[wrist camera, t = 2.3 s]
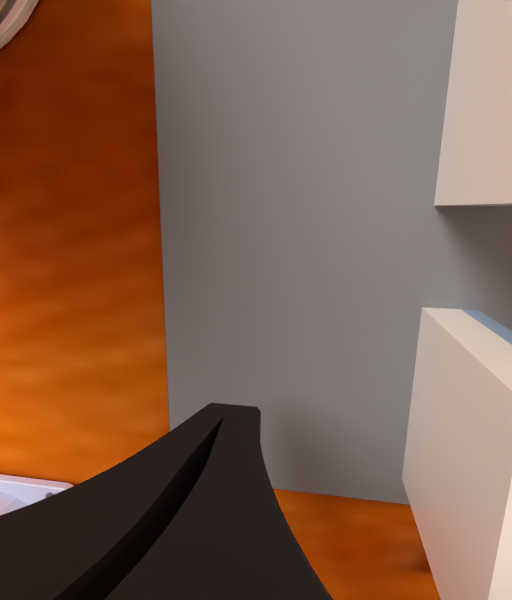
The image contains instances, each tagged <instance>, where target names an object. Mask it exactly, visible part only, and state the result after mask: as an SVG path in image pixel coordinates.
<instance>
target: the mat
mask: <svg viewBox="0 0 512 600" xmlns="http://www.w3.org/2000/svg"><path fill="white" fill-rule="evenodd" d="M457 7H458V0H151V11H152V34H153V57H154V80H155V103H156V126H157V149H158V172H159V195H160V218H161V241H162V264H163V287H164V311H165V334H166V357H167V380H168V403H169V426H170V431H172V430H173V429H174V428H176V427H177V426H179V425H180V424H181V423H183V422H184V421H186V420H187V419H188V418H190V417H191V416H193V415H194V414H195V413H197V412H198V411H199V410H201V409H202V408H204V407H205V406H207V405H208V404H210V403H221V404H232V405H243V406H255V407H258V409H259V410H260V411H261V434H260V445H261V450H262V455H263V459H264V463H265V466H266V470H267V473H268V476H269V479H270V482H271V485H272V488H273V489H281V490H289V491H298V492H306V493H315V494H323V495H332V496H340V497H348V498H357V499H365V500H374V501H382V502H391V503H399V504H407V505H410V503H409V500H408V496H407V493H406V490H405V487H404V484H403V481H402V473H403V464H404V456H405V447H406V439H407V430H408V422H409V413H410V405H411V396H412V388H413V379H414V371H415V362H416V354H417V345H418V337H419V329H420V320H421V312H422V307H423V308H444V309H465V310H479V311H481V312H482V313H484V314H485V315H487V316H489V317H490V318H492V319H494V320H495V321H497V322H498V323H500V324H502V325H503V326H505V327H506V328H508V329H510V330H511V331H512V206H434V201H435V193H436V185H437V176H438V168H439V159H440V151H441V142H442V134H443V125H444V117H445V108H446V100H447V91H448V83H449V74H450V66H451V57H452V49H453V41H454V32H455V24H456V15H457Z"/></svg>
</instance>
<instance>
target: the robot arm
mask: <svg viewBox="0 0 512 600" xmlns="http://www.w3.org/2000/svg"><path fill="white" fill-rule="evenodd" d="M260 434H261V411H260V410H259V409H258V407H255V406H243V405H232V404H221V403H210V404H208V405H207V406H205V407H204V408H202V409H201V410H199V411H198V412H197V413H195V414H194V415H193V416H191V417H190V418H188V419H187V420H186V421H184V422H183V423H181V424H180V425H179V426H177V427H176V428H174V429H173V430H172V431H170V432H169V433H167V434H166V435H164V436H163V437H161V438H160V439H158V440H157V441H155V442H154V443H152V444H150V445H149V446H147V447H146V448H144V449H142V450H141V451H139V452H138V453H136V454H135V455H133V456H131V457H130V458H128V459H126V460H124V461H123V462H121V463H119V464H117V465H116V466H114V467H112V468H110V469H108V470H106V471H104V472H102V473H100V474H98V475H96V476H94V477H92V478H90V479H88V480H86V481H84V482H82V483H80V484H78V485H75V486H74V485H72V484H69V483H65V482H57V481H49V480H41V479H33V478H25V477H17V476H9V475H1V474H0V600H333V599H332V597H331V596H330V594H329V593H328V592H327V590H326V588H325V587H324V585H323V584H322V582H321V581H320V579H319V578H318V576H317V575H316V573H315V571H314V570H313V568H312V567H311V565H310V563H309V562H308V560H307V558H306V556H305V555H304V553H303V551H302V549H301V547H300V546H299V544H298V542H297V540H296V538H295V537H294V535H293V533H292V531H291V529H290V527H289V525H288V523H287V521H286V519H285V517H284V515H283V512H282V510H281V508H280V506H279V503H278V501H277V498H276V496H275V493H274V491H273V488H272V485H271V482H270V479H269V476H268V473H267V470H266V466H265V463H264V459H263V455H262V450H261V445H260ZM53 493H54V494H53Z"/></svg>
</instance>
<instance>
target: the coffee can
mask: <svg viewBox="0 0 512 600" xmlns="http://www.w3.org/2000/svg"><path fill="white" fill-rule="evenodd" d="M38 1H39V0H0V49H1V48H2V47H3V46H4V45H5V44H7V43H8V42H9V41H10V40H11V39H12V38H13V37H14V35H15V34H16V33H17V32H18V31H19V30H20V29H21V28H22V27H23V26H24V24H25V23H26V22H27V20H28V19H29V17H30V15H31V14H32V12H33V9H34V8H35V6H36V4H37V3H38Z"/></svg>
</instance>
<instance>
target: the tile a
mask: <svg viewBox="0 0 512 600" xmlns="http://www.w3.org/2000/svg"><path fill="white" fill-rule="evenodd" d="M402 481H403V484H404V487H405V490H406V493H407V496H408V500H409V503H410V506H411V509H412V512H413V515H414V518H415V522H416V525H417V528H418V531H419V534H420V537H421V540H422V544H423V547H424V550H425V553H426V556H427V559H428V562H429V566H430V569H431V572H432V575H433V578H434V581H435V584H436V588H437V591H438V594H439V597H440V600H512V331H511V330H510V329H508V328H506V327H505V326H503V325H502V324H500V323H498V322H497V321H495V320H494V319H492V318H490V317H489V316H487V315H485V314H484V313H482V312H481V311H479V310H465V309H444V308H423V307H422V312H421V320H420V329H419V337H418V345H417V354H416V362H415V371H414V379H413V388H412V396H411V405H410V413H409V422H408V430H407V439H406V447H405V456H404V464H403V473H402Z"/></svg>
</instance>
